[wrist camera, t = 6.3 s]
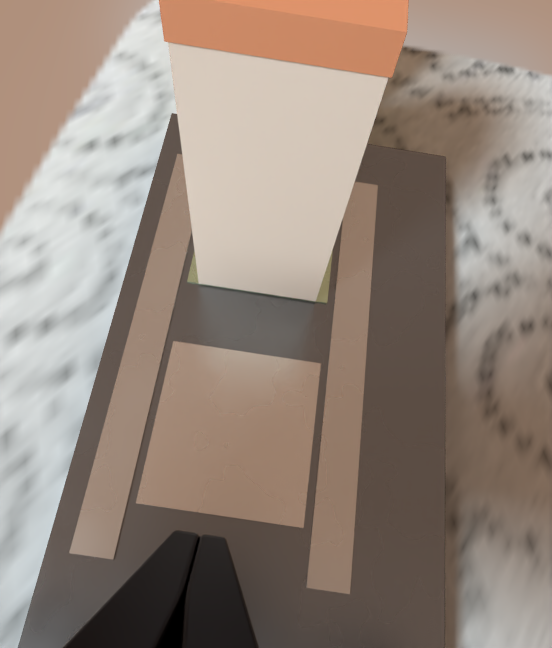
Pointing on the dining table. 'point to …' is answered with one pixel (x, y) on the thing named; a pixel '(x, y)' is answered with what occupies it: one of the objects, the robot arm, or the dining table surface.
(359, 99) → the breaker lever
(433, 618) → the plate
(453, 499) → the dining table surface
